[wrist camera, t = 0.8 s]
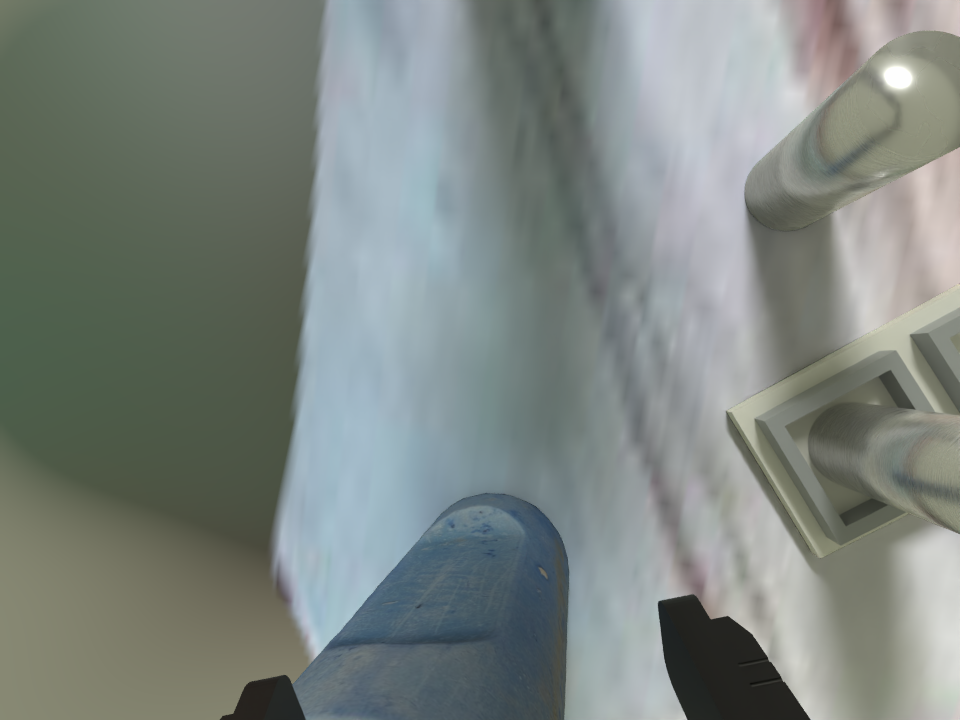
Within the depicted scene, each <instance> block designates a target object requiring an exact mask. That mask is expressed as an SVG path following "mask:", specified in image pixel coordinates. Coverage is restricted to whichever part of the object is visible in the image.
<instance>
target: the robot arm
mask: <svg viewBox="0 0 960 720" xmlns="http://www.w3.org/2000/svg"><path fill="white" fill-rule="evenodd" d="M658 611H659V619H660V627H661V636H662V644H663V652H664V659H665V663H666V667H667V671H668V674H669V677H670V680H671V683H672V686H673V688H674V691H675V693H676V695H677V697H678V700H679V702H680V704H681V706H682V708H683V711H684V713H685V715H686V717H687V720H810V718H809V717H808V715H807V714H806V712H805V711H804V709H803V708H802V707H801V705H800V704H799V702H798V701H797V699H796V698H795V696H794V695H793V693H792V692H791V690H790V689H789V688H788V686H787V685H786V683H785V682H783V681H782V678H781V676H780V674H779V673H778V672H777V670H776V669H775V667H774V666H773V664H772V663H771V662H769V660H768V657H767V656H766V654H765V653H764V651H763V650H762V648H761V647H760V645H759V644H758V642H757V641H756V639H755V638H754V637H753V635H752V634H751V633H750V632H748V631H747V630H746V629H744V628H743V627H742V626H741V625H739V624H738V623H737V622H735V621H734V620H733V619H731V618H730V617H729V616H726V617H721V618H716V619H710V618H709V616H708V614H707V613H706V611H705V610H704V608H703V606H702V605H701V603H700V601H699V600H698V598H697V597H696V596H695V595H693V594H692V595H687V596H682V597H677V598H672V599H667V600H662V601H659V602H658ZM220 720H306V719H305V716H304V713H303V711H302V708H301V706H300V703H299V701H298V698H297V696H296V693H295V691H294V688H293V686H292V683H291V681H290V679H289V678H288V677H287V676H286V675H282V676H277V677H272V678H268V679H262V680H258V681H252V682H249V683H248V684H247V685H246V686H245V688H244V690H243V692H242V694H241V697H240V700H239V702H238V704H237V706H236V709H235V711H234V713H233V714H230V715H225V716H222V718H221V719H220Z"/></svg>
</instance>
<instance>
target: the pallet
mask: <svg viewBox="0 0 960 720" xmlns="http://www.w3.org/2000/svg"><path fill="white" fill-rule="evenodd" d="M846 402H858V403H866V404H874V405H882V406H890V407H898V408H906V409H914V410H921V411H929V412H937V413H945V414H953V415H960V284H958V285H956V286H954V287H952V288H951V289H949V290H947V291H945V292H943V293H941V294H940V295H938V296H936V297H934V298H932V299H930V300H929V301H927V302H925V303H923V304H921V305H919V306H918V307H916V308H914V309H912V310H910V311H908V312H907V313H905V314H903V315H901V316H899V317H897V318H896V319H894V320H892V321H890V322H888V323H886V324H885V325H883V326H881V327H879V328H877V329H875V330H874V331H872V332H870V333H868V334H866V335H864V336H863V337H861V338H859V339H857V340H855V341H853V342H852V343H850V344H848V345H846V346H844V347H842V348H841V349H839V350H837V351H835V352H833V353H831V354H830V355H828V356H826V357H824V358H822V359H820V360H819V361H817V362H815V363H813V364H811V365H809V366H808V367H806V368H804V369H802V370H800V371H798V372H797V373H795V374H793V375H791V376H789V377H787V378H786V379H784V380H782V381H780V382H778V383H776V384H775V385H773V386H771V387H769V388H767V389H765V390H764V391H762V392H760V393H758V394H756V395H754V396H752V397H751V398H749V399H747V400H745V401H743V402H741V403H740V404H738V405H736V406H734V407H732V408H730V409H729V410H727V411H726V412H727V413H728V415H729V417H730V418H731V420H732V421H733V423H734V425H735V426H736V428H737V430H738V431H739V433H740V435H741V436H742V438H743V440H744V441H745V443H746V445H747V446H748V448H749V450H750V451H751V453H752V455H753V456H754V458H755V459H756V461H757V463H758V464H759V466H760V468H761V469H762V471H763V473H764V474H765V476H766V478H767V479H768V481H769V483H770V484H771V486H772V488H773V489H774V491H775V493H776V494H777V496H778V497H779V499H780V501H781V502H782V504H783V506H784V507H785V509H786V511H787V512H788V514H789V516H790V517H791V519H792V521H793V522H794V524H795V526H796V527H797V529H798V530H799V532H800V534H801V535H802V537H803V539H804V540H805V542H806V544H807V545H808V547H809V549H810V550H811V552H812V553H813V554H814V555H816V556H817V557H819V558H820V559H821V558H823V557H825V556H827V555H829V554H831V553H833V552H835V551H837V550H839V549H841V548H843V547H845V546H846V545H848V544H850V543H852V542H854V541H856V540H858V539H860V538H862V537H864V536H866V535H868V534H870V533H872V532H874V531H876V530H878V529H880V528H882V527H884V526H886V525H888V524H890V523H892V522H894V521H896V520H898V519H900V518H902V517H904V516H906V515H908V514H910V513H907V512H905V511H902V510H900V509H897V508H895V507H893V506H890V505H888V504H885V503H883V502H880V501H878V500H876V499H873V498H871V497H868V496H866V495H863V494H861V493H859V492H856V491H854V490H851V489H849V488H846V487H844V486H842V485H839V484H837V483H834V482H832V481H830V480H829V479H827V478H826V477H824V476H823V475H822V474H821V473H820V472H819V471H818V470H817V469H816V467H815V466H814V464H813V462H812V460H811V458H810V455H809V451H808V436H809V432H810V429H811V427H812V425H813V423H814V422H815V420H816V419H817V418H818V417H819V415H820V414H822V413H823V412H824V411H825V410H827V409H828V408H830V407H832V406H835V405H837V404H841V403H846Z"/></svg>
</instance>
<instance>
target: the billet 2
mask: <svg viewBox="0 0 960 720" xmlns="http://www.w3.org/2000/svg"><path fill="white" fill-rule="evenodd" d="M808 451H809V455H810V458H811V460H812V462H813V464H814V466H815V467H816V469H817V470H818V471H819V472H820V473H821V474H822V475H823V476H824V477H826V478H827V479H829V480H830V481H832V482H834V483H837V484H839V485H842V486H844V487H846V488H849V489H851V490H854V491H856V492H859V493H861V494H863V495H866V496H868V497H871V498H873V499H876V500H878V501H880V502H883V503H885V504H888V505H890V506H893V507H895V508H897V509H900V510H902V511H905V512H907V513H910V514H912V515H914V516H917V517H919V518H922V519H924V520H927V521H929V522H932V523H934V524H936V525H939V526H941V527H944V528H946V529H949V530H951V531H953V532H956V533H958V534H960V415H953V414H945V413H937V412H929V411H921V410H914V409H906V408H898V407H890V406H882V405H874V404H866V403H858V402H846V403H841V404H837V405H835V406H832V407H830V408H828V409H827V410H825V411H824V412H823V413H822V414H820V415H819V417H818V418H817V419H816V420H815V422H814V423H813V425H812V427H811V429H810V432H809V436H808Z"/></svg>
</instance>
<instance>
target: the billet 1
mask: <svg viewBox="0 0 960 720" xmlns="http://www.w3.org/2000/svg"><path fill="white" fill-rule="evenodd" d="M958 147H960V37H958V36H955V35H953V34H949V33H945V32H940V31H919V32H913V33H909V34H906V35H903V36H901V37H898V38H896V39H894V40H892V41H890V42H889V43H887V44H886V45H884V46H883V47H882V48H881V49H880V50H878V51H877V52H876V53H875V54H874V55H873V56H872V57H871V58H870V59H869V60H868V61H867V62H865V63H864V64H863V65H862V66H861V67H860V68H859V69H858V70H857V71H856V72H855V73H854V74H853V75H851V76H850V77H849V78H848V79H847V80H846V81H845V82H844V83H843V84H842V85H841V86H840V87H839V88H837V89H836V90H835V91H834V92H833V93H832V94H831V95H830V96H829V97H828V98H827V99H826V100H825V101H823V102H822V103H821V104H820V105H819V106H818V107H817V108H816V109H815V110H814V111H813V112H812V113H811V114H809V115H808V116H807V117H806V118H805V119H804V120H803V121H802V122H801V123H800V124H799V125H798V126H797V127H795V128H794V129H793V130H792V131H791V132H790V133H789V134H788V135H787V136H786V137H785V138H784V139H783V140H781V141H780V142H779V143H778V144H777V145H776V146H775V147H774V148H773V149H772V150H771V151H770V152H769V153H768V154H766V155H765V156H764V157H763V158H762V159H761V160H760V161H759V162H758V163H757V164H756V165H755V166H754V167H753V169H752V170H751V171H750V173H749V175H748V177H747V180H746V184H745V200H746V204H747V207H748V209H749V211H750V212H751V214H752V215H753V216H754V218H755V219H756V220H757V221H759V222H760V223H761V224H763V225H765V226H766V227H769V228H771V229H774V230H779V231H793V230H798V229H801V228H804V227H806V226H808V225H810V224H812V223H813V222H815V221H817V220H819V219H821V218H823V217H825V216H827V215H829V214H831V213H833V212H835V211H837V210H839V209H841V208H842V207H844V206H846V205H848V204H850V203H852V202H854V201H856V200H858V199H860V198H862V197H864V196H866V195H868V194H870V193H871V192H873V191H875V190H877V189H879V188H881V187H883V186H885V185H887V184H889V183H891V182H893V181H895V180H897V179H899V178H900V177H902V176H904V175H906V174H908V173H910V172H912V171H914V170H916V169H918V168H920V167H922V166H924V165H926V164H928V163H929V162H931V161H933V160H935V159H937V158H939V157H941V156H943V155H945V154H947V153H949V152H951V151H953V150H955V149H957V148H958Z"/></svg>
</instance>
